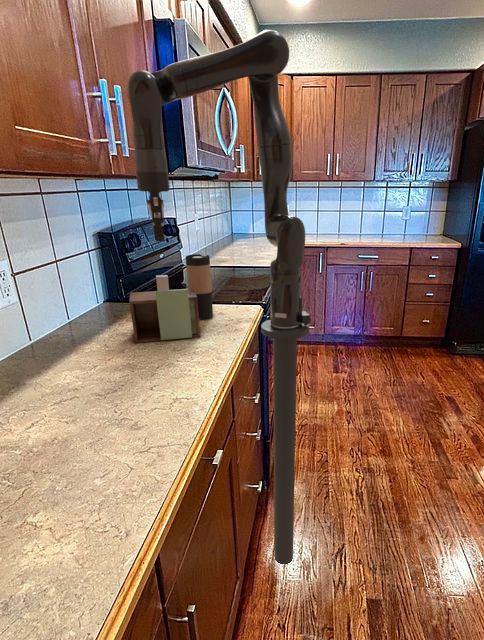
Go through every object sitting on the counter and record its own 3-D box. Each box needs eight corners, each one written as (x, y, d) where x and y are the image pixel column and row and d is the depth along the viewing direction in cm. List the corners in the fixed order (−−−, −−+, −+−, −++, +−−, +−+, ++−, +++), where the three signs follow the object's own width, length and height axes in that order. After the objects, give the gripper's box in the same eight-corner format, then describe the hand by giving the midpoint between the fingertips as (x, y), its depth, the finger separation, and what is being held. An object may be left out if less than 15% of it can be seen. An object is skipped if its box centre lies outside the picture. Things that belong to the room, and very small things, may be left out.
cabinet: (196, 326, 131) (193, 288, 127) (200, 336, 123) (197, 296, 118) (135, 331, 126) (130, 292, 122) (135, 343, 118) (129, 301, 113)
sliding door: (191, 335, 122) (186, 273, 115) (192, 338, 120) (186, 275, 113) (160, 338, 120) (153, 275, 113) (161, 340, 118) (153, 277, 111)
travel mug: (192, 320, 136) (187, 258, 129) (188, 314, 143) (183, 254, 135) (215, 318, 139) (212, 257, 131) (211, 312, 146) (207, 253, 138)
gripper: (169, 170, 97) (176, 242, 103) (166, 171, 110) (172, 235, 116) (135, 169, 95) (144, 243, 101) (136, 170, 107) (144, 236, 114)
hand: (159, 238), depth 109 cm, fingers open, 8 cm apart
